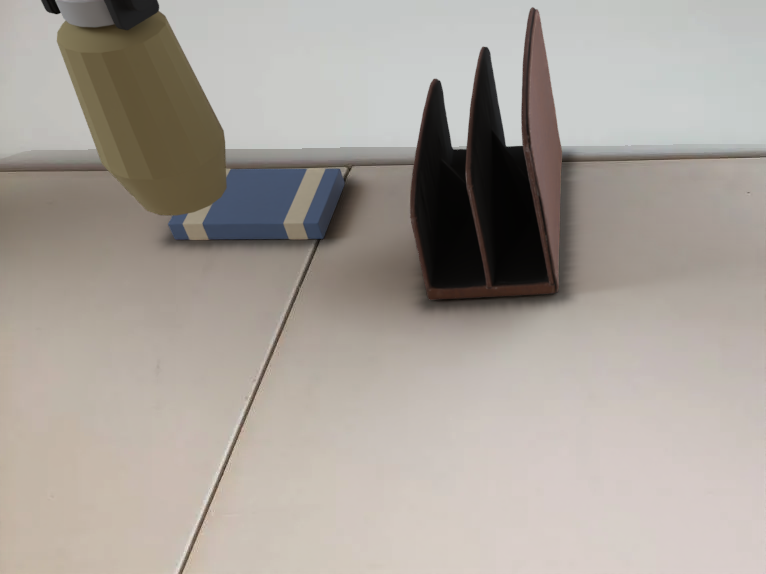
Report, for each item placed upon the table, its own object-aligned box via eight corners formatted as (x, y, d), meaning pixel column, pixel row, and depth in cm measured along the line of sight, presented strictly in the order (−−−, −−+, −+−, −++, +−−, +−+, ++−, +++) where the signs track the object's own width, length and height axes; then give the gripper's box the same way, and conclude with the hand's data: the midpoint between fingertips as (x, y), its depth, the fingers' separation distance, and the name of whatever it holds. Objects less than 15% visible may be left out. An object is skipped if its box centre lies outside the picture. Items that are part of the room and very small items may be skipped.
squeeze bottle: (100, 219, 74) (-44, -60, 60) (165, 157, 79) (46, -114, 65) (205, 235, 73) (82, -47, 59) (265, 171, 78) (165, -102, 64)
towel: (204, 184, 91) (198, 168, 90) (345, 184, 91) (340, 167, 90) (174, 240, 86) (167, 223, 85) (323, 239, 86) (318, 223, 85)
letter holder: (562, 156, 94) (542, -10, 83) (559, 296, 81) (534, 122, 71) (448, 161, 94) (412, -5, 83) (427, 303, 81) (381, 129, 70)
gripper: (-256, -368, 52) (-47, 14, 66) (9, -336, 48) (172, 65, 62) (-124, -399, 56) (45, -34, 70) (129, -372, 52) (255, 10, 66)
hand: (103, 9), depth 66 cm, fingers closed on squeeze bottle, 4 cm apart
